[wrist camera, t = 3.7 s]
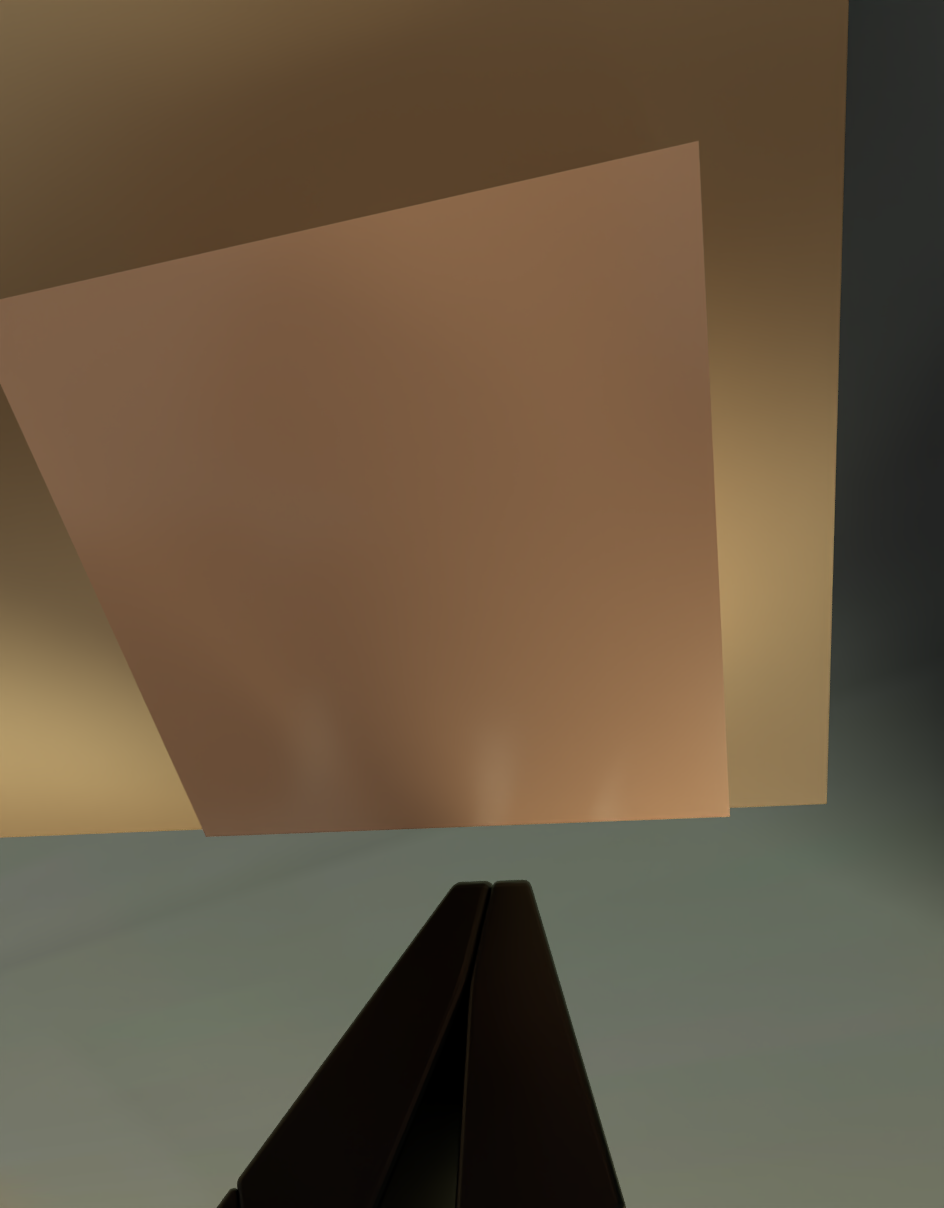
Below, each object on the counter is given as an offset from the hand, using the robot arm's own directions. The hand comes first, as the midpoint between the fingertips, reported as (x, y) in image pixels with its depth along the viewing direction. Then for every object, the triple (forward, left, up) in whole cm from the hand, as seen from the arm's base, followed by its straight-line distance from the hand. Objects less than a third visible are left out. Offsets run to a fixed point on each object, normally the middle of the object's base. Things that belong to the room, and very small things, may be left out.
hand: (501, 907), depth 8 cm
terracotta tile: (+4, 0, -1) cm, 5 cm away
